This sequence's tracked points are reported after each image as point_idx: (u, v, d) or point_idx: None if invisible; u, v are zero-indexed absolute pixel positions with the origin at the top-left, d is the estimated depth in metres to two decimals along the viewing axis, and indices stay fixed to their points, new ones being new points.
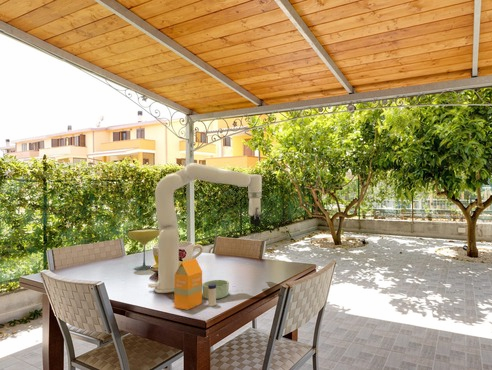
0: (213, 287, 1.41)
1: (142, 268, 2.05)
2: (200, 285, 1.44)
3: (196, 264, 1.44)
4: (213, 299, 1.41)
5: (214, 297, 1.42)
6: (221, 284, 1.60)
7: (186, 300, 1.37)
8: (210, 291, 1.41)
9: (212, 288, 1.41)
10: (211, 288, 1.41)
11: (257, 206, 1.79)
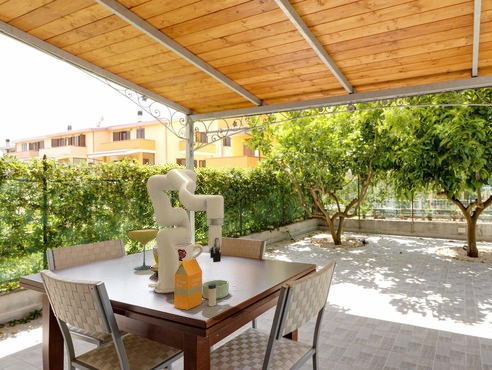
0: (213, 287, 1.41)
1: (142, 268, 2.05)
2: (200, 285, 1.44)
3: (196, 264, 1.44)
4: (213, 299, 1.41)
5: (214, 297, 1.42)
6: (221, 284, 1.60)
7: (186, 300, 1.37)
8: (210, 291, 1.41)
9: (212, 288, 1.41)
10: (211, 288, 1.41)
11: (217, 236, 1.40)
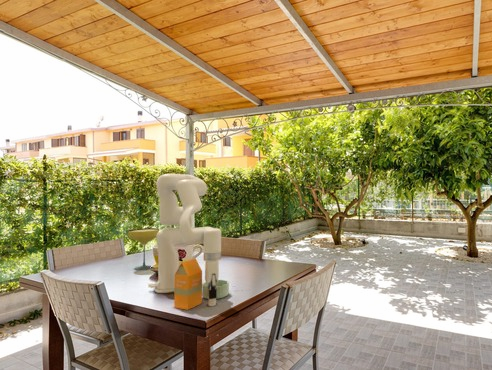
0: None
1: (142, 268, 2.05)
2: (200, 285, 1.44)
3: (196, 264, 1.45)
4: (213, 299, 1.41)
5: None
6: (221, 284, 1.60)
7: (186, 300, 1.37)
8: None
9: None
10: None
11: (214, 271, 1.38)
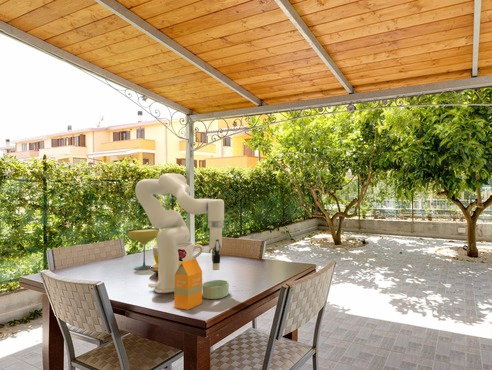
0: None
1: (142, 268, 2.05)
2: (200, 285, 1.44)
3: (196, 264, 1.45)
4: (217, 264, 1.53)
5: None
6: (221, 284, 1.60)
7: (186, 300, 1.37)
8: None
9: None
10: None
11: (217, 238, 1.50)
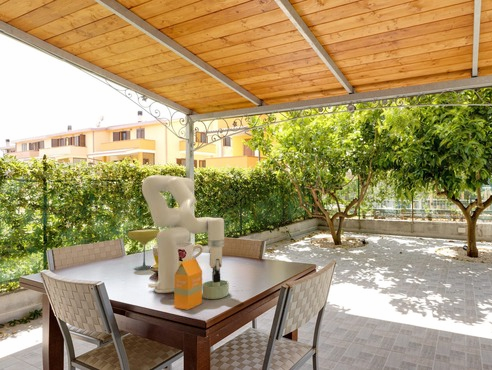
0: None
1: (142, 268, 2.05)
2: (200, 285, 1.44)
3: (196, 264, 1.45)
4: (217, 283, 1.53)
5: None
6: (221, 284, 1.60)
7: (186, 300, 1.37)
8: None
9: None
10: None
11: (217, 257, 1.50)
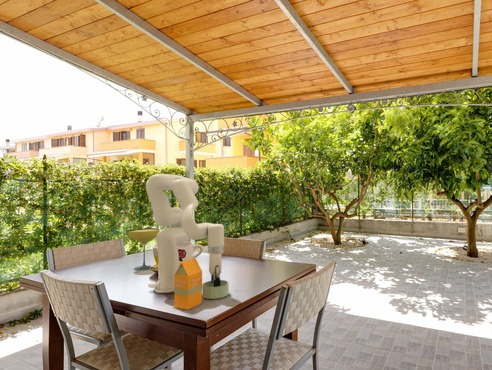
0: None
1: (142, 268, 2.05)
2: (200, 285, 1.44)
3: (196, 264, 1.45)
4: None
5: None
6: (221, 284, 1.60)
7: (186, 300, 1.37)
8: None
9: None
10: None
11: (217, 263, 1.50)
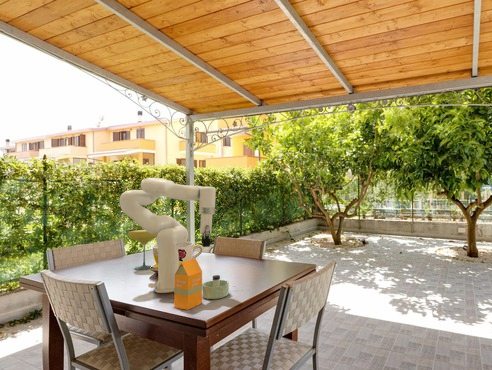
0: (217, 278, 1.53)
1: (142, 268, 2.05)
2: (200, 285, 1.44)
3: (196, 264, 1.45)
4: None
5: None
6: (221, 284, 1.60)
7: (186, 300, 1.37)
8: (214, 282, 1.53)
9: (216, 279, 1.53)
10: (216, 279, 1.53)
11: (207, 223, 1.56)
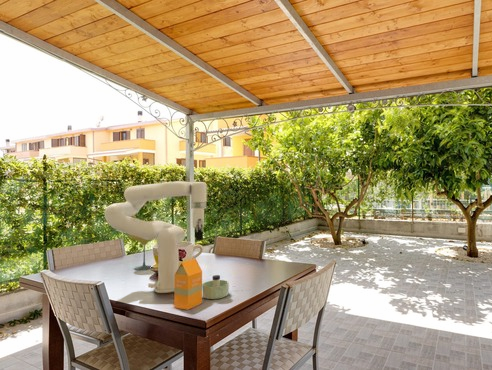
0: (217, 278, 1.53)
1: (142, 268, 2.05)
2: (200, 285, 1.44)
3: (196, 264, 1.44)
4: None
5: None
6: (221, 284, 1.60)
7: (186, 300, 1.37)
8: (214, 282, 1.53)
9: (216, 279, 1.53)
10: (216, 279, 1.53)
11: (199, 217, 1.60)
